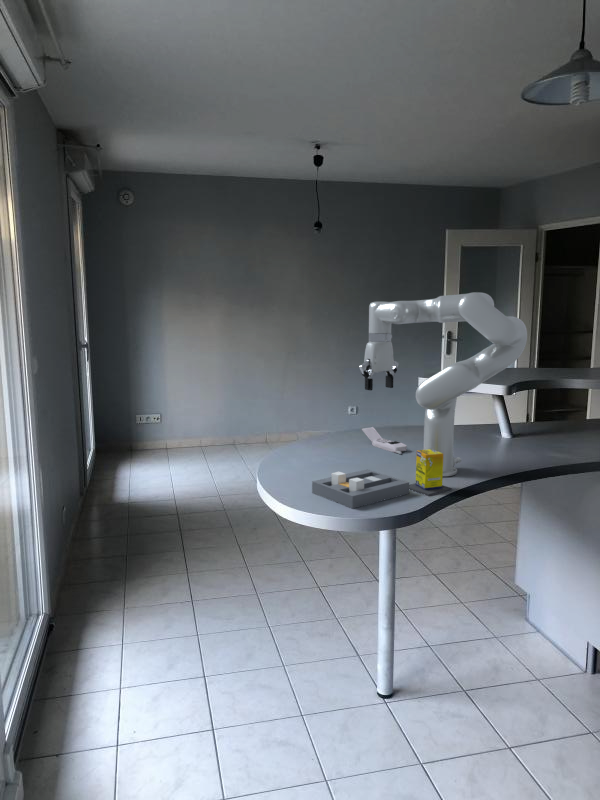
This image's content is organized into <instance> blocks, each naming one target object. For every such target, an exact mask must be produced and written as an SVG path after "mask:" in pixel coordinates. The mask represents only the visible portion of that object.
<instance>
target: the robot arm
mask: <svg viewBox="0 0 600 800" xmlns="http://www.w3.org/2000/svg"><path fill="white" fill-rule="evenodd" d="M432 322H436V323H437V322H438V323H440V324H442V323H444V324H446V323H458V322H460V323H461V322H466V323H468V324H469V326H470V325H471V327H472V328H473V329H475V330H476V331H477V332H478V333H479V334H481V335H482V336H483V337H484V338H485V339H487V340H488V341H489V342H491V343H492V344H490V345H489V346H488V347H485V348H484V349H482V350H481V351H479V352H478V353H476V354H475V355H473V356H471V357H469V358H466V359H464V360H460V361H456V362H453V363H451V364H449V365H448V366H446V367H445V368H443V369H441V370H440V371H438V372H436V373H435V374H433V375H431V376H430V377H428V378H426V379H425V380H424V381H422V382H421V383H420V384H419V385H418V386H417V388H416V391H415V400H416V402H417V404H418V405H419V406H420V407H421V408H422V409H424V410H425V411H424V420H423V421H424V422H423V450H428V449H434V450H436V451H438V452H440V453H443V478H445V477H452V476H454V475H457V474H458V469H457V467H455V465H456V464H460V463H461V462H462V458H461V457H459V456H458V457H454V433H455V429H454V428H455V414H456V406H457V398H458V397H460V396H461V395H464V394H466V393H467V392H469V391H473V390H474V389H476V388H477V387H478V386H480V385H481V384H482V383H484V382H486V381H487V380H489V379H491V378H492V377H494V376H495V375H497V374H499V373H501V372H502V371H504V370H506V369H507V368H508V367H510V366H511V365H513V363H515V362H516V361H517V360H518V359H519V358H520V357H521V355H522V353H524V350H525V348H526V345H527V342H528V330H527V325H526V324H525V323H524V321H523V320H522V319H520V318H519V317H517V316H512V315H510V316H509V315H508V316H507V315H505V314H504V313H503V312H502V311H500V310H499V309H497V307H495V300H494V299H493V298H492V296H491V295H489V294H488V293H485V292H478V291H476V292H473V291H472V292H469V293H461V294H449V295H447V294H446V295H439V296H437V297H436V298H430V299H429V298H428V299H421V300H420V299H418V300H397V301H373V302H370V304H369V306H368V342H367V343H366V345H365V349H364V357H363V358H364V359H363V363H361V364H360V365H359V367H358V368H359V370H360V373H361V374H360V375H362V376H363V378H364V390H366V391H373V385H374V383H373V380H374V379H373V378H372V377H373V376H374V374H375V373H376V374H377V373H386V375H385V388H390V389H393V388H394V377H396V373H397V371H398V367H399V366H400V363H399V362H398V361H396V360H394V358H395V357H394V348H393V343H392V339H393V335H392V324H394V325H402V324H416V323H418V324H419V323H432Z"/></svg>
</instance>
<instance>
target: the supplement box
mask: <svg viewBox="0 0 600 800" xmlns="http://www.w3.org/2000/svg"><path fill="white" fill-rule="evenodd" d="M415 453H416V457H415V459H416V460H415V462H416V463H415V483H416V485H417V486H419V487H421V488H422V489H424V490H425V491H426V490H434V489H442V485H443V478H444V477H443V453H440V452H438V451H436V450H434V449H428V450H424V449H418V450H416V452H415Z"/></svg>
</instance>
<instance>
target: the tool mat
mask: <svg viewBox="0 0 600 800" xmlns="http://www.w3.org/2000/svg"><path fill="white" fill-rule="evenodd" d="M409 489H410V490H409V491H411V490H413V492H415V491H416V492H415V493H418V492H419V493H418V494H421V493H422V494H421V495H424V494H425V495H424V496H427V497H430V496H435V495H437V494H441V493H446V492H449V491H452V489H453V488H452V487H450V486H448V485H447V486H446V485H443V484H442V489H434V490H426V491H425V490H424V489H422V488H421V487H419V486H417V485H416V482H414V483H412V484H410V483H409Z"/></svg>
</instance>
